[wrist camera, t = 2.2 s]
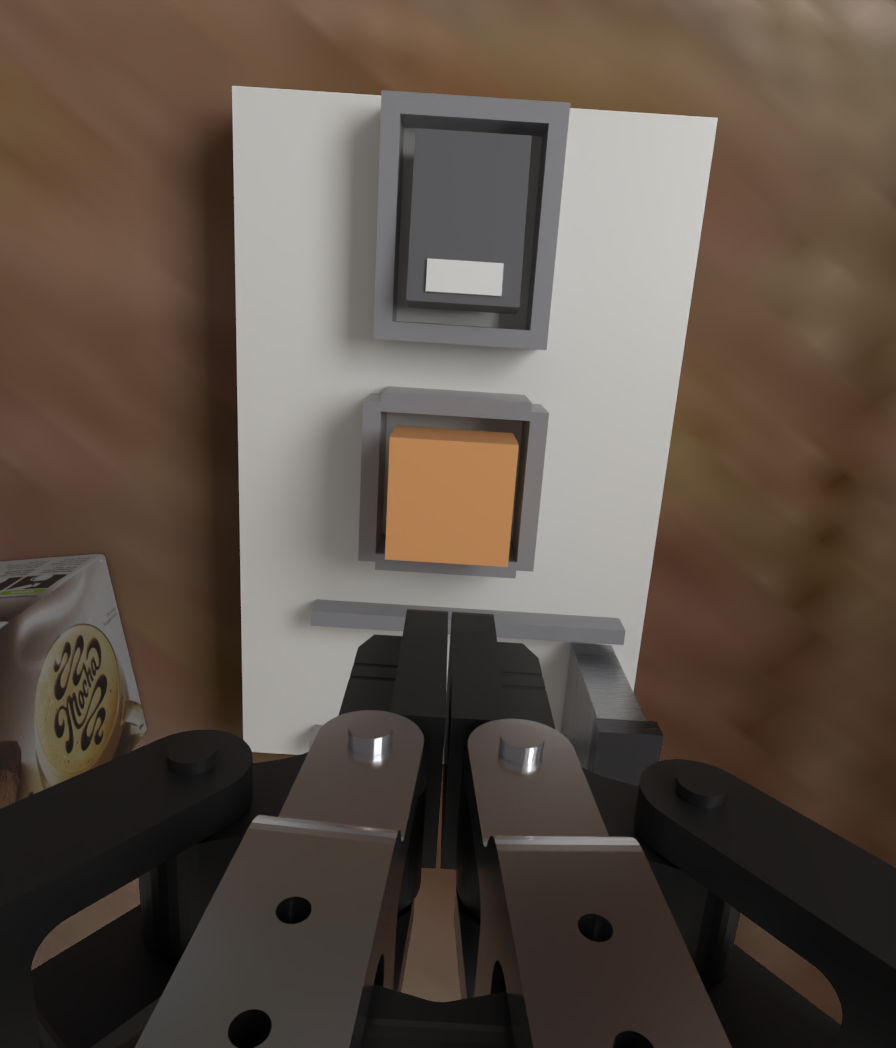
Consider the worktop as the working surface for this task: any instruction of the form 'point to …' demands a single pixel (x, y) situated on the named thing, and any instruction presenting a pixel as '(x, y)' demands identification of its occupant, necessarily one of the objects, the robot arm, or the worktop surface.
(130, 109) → the worktop surface
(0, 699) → the coffee box
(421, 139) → the rocker switch
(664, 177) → the control panel
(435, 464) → the push button
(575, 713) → the slide paddle
